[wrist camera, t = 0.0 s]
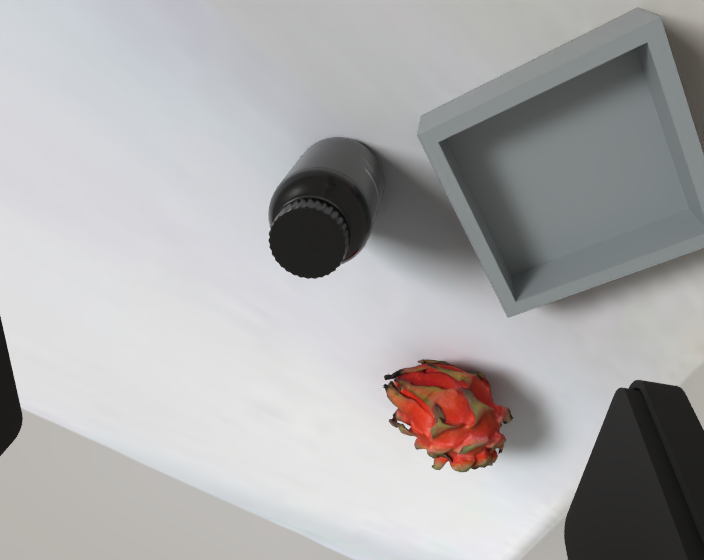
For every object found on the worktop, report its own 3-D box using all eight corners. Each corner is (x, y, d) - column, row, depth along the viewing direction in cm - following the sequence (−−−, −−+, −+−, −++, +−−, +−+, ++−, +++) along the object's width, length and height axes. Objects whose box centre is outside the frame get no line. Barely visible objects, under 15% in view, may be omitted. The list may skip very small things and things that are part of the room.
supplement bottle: (404, 173, 46) (388, 241, 36) (349, 235, 49) (320, 315, 39) (331, 114, 45) (292, 167, 35) (279, 182, 48) (230, 250, 38)
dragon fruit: (500, 417, 58) (398, 339, 58) (552, 404, 50) (435, 314, 50) (457, 497, 54) (348, 415, 54) (507, 496, 47) (380, 400, 46)
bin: (421, 115, 44) (417, 135, 40) (637, 7, 39) (660, 16, 34) (503, 284, 49) (507, 317, 45) (703, 209, 44) (729, 238, 40)
